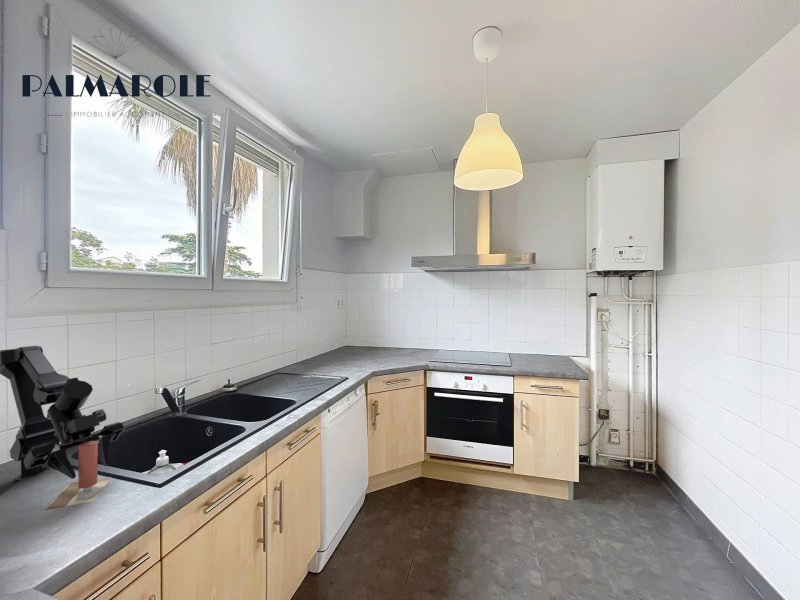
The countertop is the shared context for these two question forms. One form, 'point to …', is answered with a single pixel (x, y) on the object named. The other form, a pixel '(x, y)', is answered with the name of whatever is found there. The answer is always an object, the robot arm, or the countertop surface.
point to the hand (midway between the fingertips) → (91, 471)
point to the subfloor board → (75, 494)
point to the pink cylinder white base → (87, 470)
